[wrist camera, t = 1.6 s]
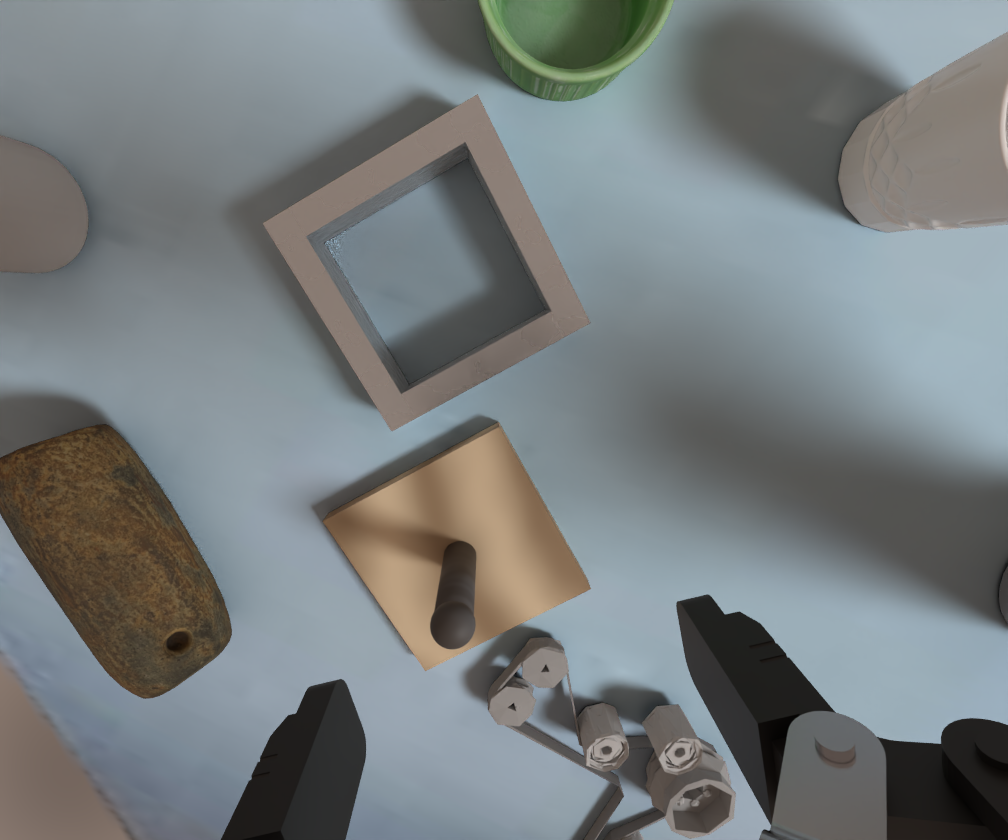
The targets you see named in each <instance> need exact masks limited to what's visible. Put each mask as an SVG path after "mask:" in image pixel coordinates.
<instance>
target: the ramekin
mask: <svg viewBox="0 0 1008 840" xmlns="http://www.w3.org/2000/svg"><path fill="white" fill-rule="evenodd" d="M673 2H674V0H478V4H479V7H480V10H481V13H482V16H483V20H484V26H485V30H486V34H487V39H488V42H489V44H490V47H491V50H492V52H493V54H494V56H495V57H496V59H497V61H498V64H499V65H500V67H501V68H502V69H503V71H504V72H505V73H506V74H507V75H508V77H509V78H510V79H511V80H512V81H513V82H514V83H516V84H517V85H518V86H519V87H521V88H522V89H523V90H525V91H527V92H529V93H531V94H533V95H535V96H537V97H540V98H543V99H548V100H552V101H572V100H577V99H581V98H585V97H587V96H589V95H592V94H595V93H596V92H598V91H599V90H601V89H603V88H604V87H606V86H607V85H608V84H609V83H610V82H611V81H613V80H614V79H615V78H616V77H617V76H618V75H619V74H620V72H622V71H623V70H624V69H625V68H626V67H627V66H629V65H630V64H632V63H633V62H634V61H635V60H636V59H637V58H638V57H640V56H641V55H642V54H643V53H644V52H645V51H646V50H647V48H648V47H649V46H650V45H651V44H652V42H653V41H654V40H655V38H656V37H657V35H658V34H659V32H660V31H661V29H662V27H663V25H664V23H665V21H666V19H667V17H668V15H669V13H670V10H671V7H672V5H673Z"/></svg>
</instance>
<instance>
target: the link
mask: <svg viewBox="0 0 1008 840" xmlns="http://www.w3.org/2000/svg"><path fill="white" fill-rule="evenodd" d="M467 158H468V160H469V162H470V164H471V166H472V167H473V169H474V171H475V173H476V175H477V177H478V179H479V181H480V183H481V185H482V187H483V189H484V191H485V193H486V195H487V197H488V199H489V201H490V203H491V205H492V206H493V208H494V210H495V212H496V214H497V216H498V218H499V220H500V222H501V224H502V226H503V228H504V230H505V232H506V234H507V236H508V238H509V240H510V242H511V244H512V246H513V247H514V249H515V251H516V253H517V255H518V257H519V259H520V261H521V263H522V265H523V267H524V269H525V271H526V273H527V275H528V277H529V279H530V281H531V283H532V285H533V286H534V288H535V290H536V292H537V294H538V296H539V298H540V300H541V302H542V304H543V306H544V308H545V310H544V311H542V312H540V313H538V314H537V315H535V316H533V317H531V318H529V319H528V320H526V321H524V322H522V323H520V324H518V325H517V326H515V327H513V328H511V329H509V330H508V331H506V332H504V333H502V334H500V335H499V336H497V337H495V338H493V339H491V340H490V341H488V342H486V343H484V344H482V345H480V346H479V347H477V348H475V349H473V350H471V351H470V352H468V353H466V354H464V355H462V356H461V357H459V358H457V359H455V360H453V361H452V362H450V363H448V364H446V365H444V366H442V367H441V368H439V369H437V370H435V371H433V372H432V373H430V374H428V375H426V376H424V377H423V378H421V379H419V380H417V381H415V382H413V383H412V384H410V385H409V383H408V381H407V380H406V378H405V376H404V375H403V373H402V371H401V370H400V368H399V366H398V365H397V363H396V361H395V360H394V358H393V356H392V355H391V353H390V351H389V350H388V348H387V346H386V345H385V343H384V341H383V340H382V338H381V336H380V335H379V333H378V331H377V330H376V328H375V326H374V325H373V323H372V321H371V320H370V318H369V316H368V315H367V313H366V311H365V310H364V308H363V306H362V305H361V303H360V301H359V300H358V298H357V296H356V294H355V293H354V291H353V289H352V288H351V286H350V284H349V283H348V281H347V279H346V278H345V276H344V274H343V273H342V271H341V269H340V268H339V266H338V264H337V263H336V261H335V259H334V258H333V256H332V254H331V253H330V251H329V249H328V248H327V246H326V244H325V243H324V242H326V241H328V240H330V239H331V238H333V237H335V236H336V235H338V234H340V233H341V232H343V231H345V230H347V229H348V228H350V227H352V226H353V225H355V224H357V223H358V222H360V221H362V220H363V219H365V218H367V217H369V216H370V215H372V214H374V213H375V212H377V211H379V210H380V209H382V208H384V207H386V206H387V205H389V204H391V203H392V202H394V201H396V200H397V199H399V198H401V197H403V196H404V195H406V194H408V193H409V192H411V191H413V190H414V189H416V188H418V187H419V186H421V185H423V184H425V183H426V182H428V181H430V180H431V179H433V178H435V177H436V176H438V175H440V174H442V173H443V172H445V171H447V170H448V169H450V168H452V167H453V166H455V165H457V164H459V163H460V162H462V161H464V160H465V159H467ZM263 225H264V227H265V228H266V230H267V231H268V233H269V235H270V236H271V238H272V239H273V241H274V243H275V244H276V246H277V248H278V249H279V251H280V252H281V254H282V256H283V257H284V259H285V260H286V262H287V264H288V265H289V267H290V268H291V270H292V272H293V273H294V275H295V277H296V278H297V280H298V281H299V283H300V285H301V286H302V288H303V289H304V291H305V293H306V294H307V296H308V297H309V299H310V301H311V302H312V304H313V306H314V307H315V309H316V310H317V312H318V314H319V315H320V317H321V318H322V320H323V322H324V323H325V325H326V326H327V328H328V330H329V331H330V333H331V334H332V336H333V338H334V339H335V341H336V343H337V344H338V346H339V347H340V349H341V351H342V352H343V354H344V355H345V357H346V359H347V360H348V362H349V363H350V365H351V367H352V368H353V370H354V372H355V373H356V375H357V376H358V378H359V380H360V381H361V383H362V384H363V386H364V388H365V389H366V391H367V392H368V394H369V396H370V397H371V399H372V401H373V402H374V404H375V405H376V407H377V409H378V410H379V412H380V413H381V415H382V417H383V418H384V420H385V421H386V423H387V425H388V426H389V428H390V430H391V431H393V430H395V429H397V428H399V427H401V426H403V425H404V424H406V423H408V422H410V421H412V420H414V419H415V418H417V417H419V416H421V415H423V414H425V413H426V412H428V411H430V410H432V409H434V408H436V407H437V406H439V405H441V404H443V403H445V402H447V401H448V400H450V399H452V398H454V397H456V396H458V395H459V394H461V393H463V392H465V391H467V390H469V389H470V388H472V387H474V386H476V385H478V384H480V383H481V382H483V381H485V380H487V379H489V378H491V377H492V376H494V375H496V374H498V373H500V372H502V371H503V370H505V369H507V368H509V367H511V366H513V365H514V364H516V363H518V362H520V361H522V360H524V359H525V358H527V357H529V356H531V355H533V354H535V353H536V352H538V351H540V350H542V349H544V348H546V347H547V346H549V345H551V344H553V343H555V342H557V341H558V340H560V339H562V338H564V337H566V336H568V335H569V334H571V333H573V332H575V331H577V330H579V329H580V328H582V327H584V326H586V325H588V324H590V321H589V319H588V317H587V315H586V313H585V311H584V309H583V307H582V305H581V303H580V301H579V299H578V297H577V295H576V293H575V291H574V289H573V287H572V285H571V283H570V280H569V278H568V276H567V274H566V272H565V270H564V268H563V266H562V264H561V262H560V260H559V258H558V256H557V254H556V252H555V250H554V248H553V246H552V244H551V242H550V240H549V238H548V236H547V234H546V232H545V230H544V228H543V226H542V224H541V222H540V220H539V218H538V216H537V214H536V212H535V210H534V208H533V206H532V204H531V202H530V200H529V198H528V195H527V193H526V191H525V189H524V187H523V185H522V183H521V181H520V179H519V177H518V175H517V173H516V171H515V169H514V167H513V165H512V163H511V161H510V159H509V157H508V155H507V153H506V151H505V149H504V147H503V145H502V143H501V141H500V139H499V137H498V135H497V133H496V131H495V129H494V127H493V125H492V123H491V121H490V119H489V117H488V115H487V113H486V111H485V108H484V106H483V104H482V102H481V100H480V98H479V96H478V94H477V95H475V96H474V97H472V98H470V99H469V100H467V101H465V102H464V103H462V104H460V105H459V106H457V107H455V108H454V109H452V110H450V111H449V112H447V113H445V114H444V115H442V116H440V117H439V118H437V119H435V120H434V121H432V122H430V123H429V124H427V125H425V126H424V127H422V128H420V129H419V130H417V131H415V132H414V133H412V134H410V135H409V136H407V137H405V138H404V139H402V140H400V141H399V142H397V143H395V144H394V145H392V146H390V147H389V148H387V149H385V150H384V151H382V152H380V153H379V154H377V155H375V156H374V157H372V158H370V159H369V160H367V161H365V162H364V163H362V164H360V165H359V166H357V167H355V168H354V169H352V170H350V171H349V172H347V173H345V174H344V175H342V176H340V177H339V178H337V179H335V180H334V181H332V182H330V183H329V184H327V185H325V186H324V187H322V188H320V189H319V190H317V191H315V192H314V193H312V194H310V195H309V196H307V197H305V198H304V199H302V200H300V201H299V202H297V203H295V204H294V205H292V206H290V207H289V208H287V209H285V210H284V211H282V212H280V213H279V214H277V215H276V216H274V217H272V218H271V219H269V220H267V221H266V222H264V223H263Z"/></svg>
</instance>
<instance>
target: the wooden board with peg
mask: <svg viewBox="0 0 1008 840" xmlns="http://www.w3.org/2000/svg"><path fill="white" fill-rule="evenodd" d="M323 523H324V524H325V525H326V527H327V528H328V530H329V531H330V533H331V534H332V536H333V537H334V539H335V540H336V542H337V543H338V544H339V546H340V547H341V549H342V550H343V552H344V553H345V555H346V556H347V558H348V559H349V560H350V562H351V563H352V565H353V566H354V568H355V569H356V571H357V572H358V574H359V575H360V576H361V578H362V579H363V581H364V582H365V584H366V585H367V587H368V588H369V590H370V591H371V593H372V594H373V595H374V597H375V598H376V600H377V601H378V603H379V604H380V606H381V607H382V609H383V610H384V611H385V613H386V614H387V616H388V617H389V619H390V620H391V622H392V623H393V625H394V626H395V627H396V629H397V630H398V632H399V633H400V635H401V636H402V638H403V639H404V641H405V642H406V644H407V645H408V646H409V648H410V649H411V651H412V652H413V654H414V655H415V657H416V658H417V660H418V661H419V662H420V664H421V665H422V667H423V668H424V670H425V671H426V670H428V669H431V668H433V667H435V666H437V665H439V664H441V663H443V662H445V661H447V660H449V659H451V658H453V657H455V656H457V655H459V654H461V653H463V652H465V651H467V650H469V649H471V648H473V647H475V646H477V645H479V644H481V643H483V642H485V641H487V640H489V639H491V638H493V637H495V636H497V635H499V634H501V633H503V632H505V631H507V630H509V629H511V628H513V627H515V626H517V625H519V624H521V623H523V622H525V621H527V620H529V619H531V618H533V617H535V616H537V615H539V614H541V613H543V612H545V611H547V610H549V609H551V608H553V607H555V606H557V605H559V604H561V603H564V602H566V601H568V600H570V599H572V598H574V597H576V596H578V595H580V594H582V593H584V592H586V591H588V590H590V589H591V588H590V585H589V582H588V580H587V577H586V576H585V574H584V572H583V570H582V569H581V567H580V565H579V563H578V562H577V560H576V558H575V556H574V554H573V553H572V551H571V549H570V547H569V546H568V544H567V542H566V540H565V539H564V537H563V535H562V533H561V531H560V530H559V528H558V526H557V524H556V523H555V521H554V519H553V517H552V515H551V514H550V512H549V510H548V508H547V507H546V505H545V503H544V501H543V500H542V498H541V496H540V494H539V492H538V491H537V489H536V487H535V485H534V484H533V482H532V480H531V478H530V477H529V475H528V473H527V471H526V469H525V468H524V466H523V464H522V462H521V461H520V459H519V457H518V455H517V453H516V452H515V450H514V448H513V446H512V445H511V443H510V441H509V439H508V438H507V436H506V434H505V432H504V430H503V429H502V427H501V425H500V423H499V422H498V423H496V424H494V425H492V426H490V427H488V428H486V429H485V430H483V431H481V432H479V433H477V434H475V435H473V436H472V437H470V438H468V439H466V440H464V441H462V442H460V443H458V444H457V445H455V446H453V447H451V448H449V449H447V450H445V451H444V452H442V453H440V454H438V455H436V456H434V457H432V458H430V459H429V460H427V461H425V462H423V463H421V464H419V465H417V466H416V467H414V468H412V469H410V470H408V471H406V472H404V473H403V474H401V475H399V476H397V477H395V478H393V479H391V480H389V481H388V482H386V483H384V484H382V485H380V486H378V487H376V488H375V489H373V490H371V491H369V492H367V493H365V494H363V495H361V496H360V497H358V498H356V499H354V500H352V501H350V502H348V503H347V504H345V505H343V506H341V507H339V508H337V509H335V510H334V511H332V512H330V513H328V515H327V516H326V517H325V519H324V520H323Z"/></svg>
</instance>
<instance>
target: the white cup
mask: <svg viewBox="0 0 1008 840" xmlns="http://www.w3.org/2000/svg"><path fill="white" fill-rule="evenodd" d="M838 182H839V186H840V190H841V194H842V198H843V202H844V206H845V207H846V208H847V209H848V210H849V211H850V213H851V214H852V215H853V216H854V217H855V218H856V219H857V220H858V221H859V222H860V224H861V225H863V226H867V227H870V228H873V229H876V230H880V231H883V232H886V233H890V232H899V231H909V230H919V229H924V230H946V229H959V228H977V227H988V226H999V225H1008V32H1006V33H1004V34H1002V35H1001V36H999V37H997V38H995V39H993V40H992V41H990V42H988V43H986V44H984V45H983V46H981V47H979V48H977V49H975V50H974V51H972V52H970V53H968V54H966V55H965V56H963V57H961V58H959V59H958V60H956V61H954V62H952V63H951V64H949V65H947V66H946V67H944V68H943V69H941V70H939V71H938V72H936V73H934V74H933V75H931V76H929V77H927V78H926V79H924V80H922V81H921V82H919V83H917V84H916V85H914V86H913V87H911V88H910V89H909V90H908V91H907V92H905V93H903V94H901V95H899V96H897V97H895V98H894V99H892V100H890V101H888V102H886V103H885V104H884V105H882V106H881V107H879V108H878V109H877V110H875V111H874V112H873V113H871V114H870V115H869V116H867V117H866V118H864V119H863V120H862V121H860V123H859V124H858V126H857V127H856V129H855V131H854V132H853V134H852V135H851V137H850V139H849V140H848V142H847V144H846V145H845V147H844V148H843V152H842V158H841V163H840V169H839V175H838Z"/></svg>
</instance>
